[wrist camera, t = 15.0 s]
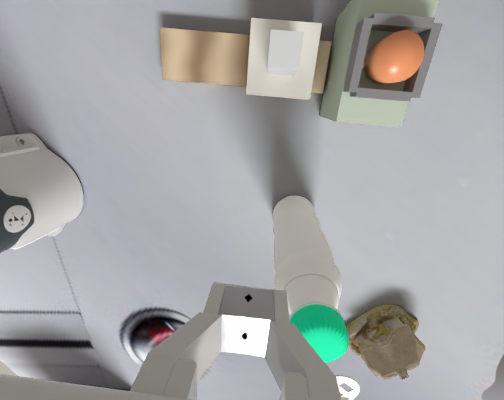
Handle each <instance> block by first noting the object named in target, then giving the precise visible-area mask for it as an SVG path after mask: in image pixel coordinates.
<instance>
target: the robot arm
mask: <svg viewBox="0 0 504 400" xmlns="http://www.w3.org/2000/svg"><path fill="white" fill-rule="evenodd" d="M83 200H84V197H83V190H82V187H81V184H80V182H79V179H78V178H77V176H76V174H75V173H74V171H73V170H72V169H71V168H70V166H69V165H68V164H67V163H66V162H65V161H63V160H62V159H61V158H60V157H58V156H57V155H55V154H54V153H52V152H51V151H50V150H49V149H47V147H46V146H45V145H44V144H43V142H42V141H41V140H40V139H39V138H38V137H37V136H36V135H35V134H33V133H22V134H14V135H5V136H0V254H2V253H3V252H5V251H6V250H7V249H9V248H12V249H18V248H21V247H23V246H25V245H27V244H29V243H31V242H33V241H35V240H37V239H39V238H41V237H43V236H45V235H48V236H56V235H58V234H60V233H61V231H62V230H63V228H64V226H65V225H66V224H67V223H69V222H70V221H72V220H74V219H75V218H76V217H77V216H78V215H79V213H80V212H81V210H82V207H83ZM220 351H221V352H231V353H242V354H249V355H255V356H262V357H265V360H266V362H267V364H268V366H269V368H270V370H271V372H272V374H273V376H274V378H275V380H276V382H277V384H278V386H279V388H280V390H281V395H280V400H341V396H340V392H339V387H338V383H337V379H336V376H335V375H334V374H333V373H332V371H331V370H330V369H329V368H328V366H327V365H326V364H325V363H324V361H323V360H322V359H321V358H320V356H319V355H318V354H317V353H316V351H315V350H314V349H313V348H312V346H311V345H310V344H309V343H308V341H307V340H306V339H305V338H304V336H303V335H302V334H301V333H300V331H299V330H298V329H297V328H296V326H295V325H294V324H292V323H289V311H288V300H287V292H286V290H276V289H274V290H273V289H265V288H255V287H247V286H240V285H233V284H224V283H217V282H214V283H213V284H212V287H211V291H210V294H209V297H208V300H207V303H206V306H205V309H204V313H198V314H197V315H196V316H195V317H193V318H192V319H191V320H189V321H188V322H187V323H186V324H184V325H183V326H182V327H181V328H179V329H178V330H177V331H175V332H174V333H173V334H172V335H170V336H169V337H168V338H167V339H165V340H164V341H163V342H161V343H160V344H159V345H158V346H156V347H155V348H154V349H153V350H151V351H150V352H149V353H148V355H147V357H146V359H145V361H144V363H143V365H142V367H141V369H140V371H139V373H138V375H137V377H136V379H135V381H134V383H133V385H132V387H131V390H130V391H125V390H117V389H110V388H102V387H95V386H87V385H79V384H72V383H64V382H57V381H49V380H41V379H34V378H26V377H19V376H11V375H4V374H0V400H197V381H198V379H199V378H200V377H201V376H202V375H203V373H204V372H205V371H206V370H207V368H208V367H209V366H210V365H211V364H212V362H213V361H214V360H215V359H216V358H217V356H218V355H219V354H220Z"/></svg>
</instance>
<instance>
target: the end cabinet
mask: <svg viewBox="0 0 504 400" xmlns="http://www.w3.org/2000/svg"><path fill="white" fill-rule="evenodd" d="M438 2H439V0H351V1H350V2H349V4H348V5H347V6H346V7H345V9H344V10H343V11H342V12H341V14H340V15H339V16H338V17H337V20H336V26H335V31H334V37H333V43H332V48H331V54H330V60H329V65H328V71H327V77H326V82H325V88H324V94H323V99H322V105H321V111H320V116H321V117H324V118H327V119H330V120H333V121H336V122H346V123H357V124H368V125H379V126H390V127H401V126H402V122H403V119H404V116H405V112H406V109H407V106H408V102H409V101H410V99H411V98H420V94H421V91H422V88H423V85H424V82H425V78H426V75H427V72H428V69H429V66H430V62H431V59H432V56H433V53H434V50H435V46H436V43H437V40H438V37H439V34H440V30H441V27H442V24H440V23H433V22H434V19H435V18H434V15H435V12H436V9H437V5H438ZM402 30H409V31H413V32H415V33H416V34H418V35H419V36H420V38H421V39H422V41H423V44H424V57H423V61H422V63H421V65H420V67H419V68H418V70H417V71H416V72H415V73H414V74H413V75H412V76H411V77H409V78H408V79H406V80H404V81H401V82H395V83H387V84H376V83H374V82H372V81H371V80H370V79H369V78H368V77H367V75H366V73H365V69H364V63H365V58H366V55H367V53H368V51H369V50H370V49H371V47H372V46H373V45H374V44H376V43H377V42H379V41H380V40H382V39H384V38H386V37H388V36H390V35H391V34H393V33H395V32H398V31H402Z"/></svg>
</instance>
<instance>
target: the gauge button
mask: <svg viewBox="0 0 504 400" xmlns="http://www.w3.org/2000/svg"><path fill="white" fill-rule="evenodd" d="M423 57H424V44H423V41H422V39H421V38H420V36H419V35H418V34H416V33H415V32H413V31H409V30H402V31H398V32H395V33H393V34H391V35H390V36H388V37H386V38H384V39H382V40H380V41H379V42H377V43H376V44H374V45H373V46H372V47H371V49H370V50H369V51H368V53H367V55H366V58H365V63H364V69H365V73H366V75H367V77H368V78H369V79H370V80H371V81H372V82H374V83H376V84H387V83H395V82H401V81H404V80H406V79H408V78H409V77H411V76H412V75H413V74H414V73H415V72H416V71H417V70H418V68H419V67H420V65H421V63H422V61H423Z"/></svg>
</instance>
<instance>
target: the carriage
mask: <svg viewBox="0 0 504 400" xmlns="http://www.w3.org/2000/svg"><path fill="white" fill-rule="evenodd" d="M321 27H322V23H312V22H300V21H287V20H274V19H262V18H251V29H250V44H249V58H248V73H247V88H246V94H248V95H258V96H269V97H280V98H292V99H303V100H310V97H311V90H312V84H313V78H314V71H315V65H316V59H317V53H318V46H319V40H320V34H321Z"/></svg>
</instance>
